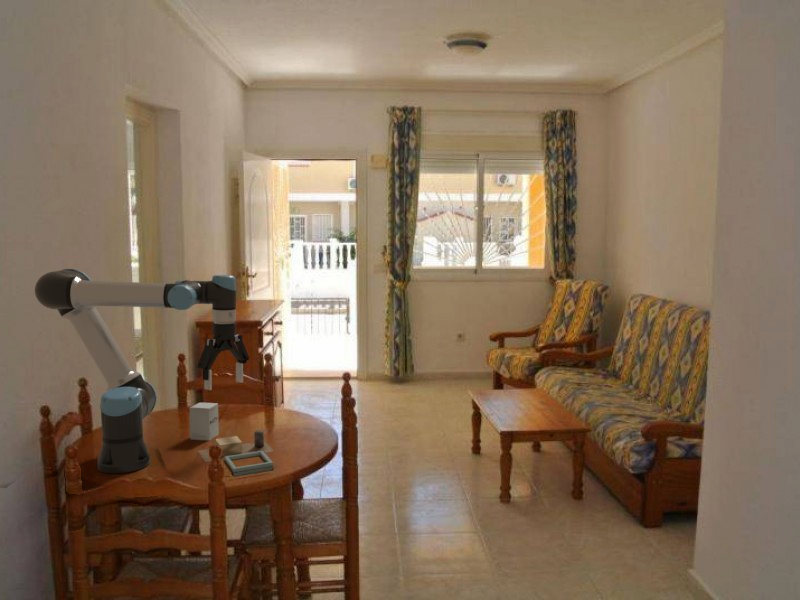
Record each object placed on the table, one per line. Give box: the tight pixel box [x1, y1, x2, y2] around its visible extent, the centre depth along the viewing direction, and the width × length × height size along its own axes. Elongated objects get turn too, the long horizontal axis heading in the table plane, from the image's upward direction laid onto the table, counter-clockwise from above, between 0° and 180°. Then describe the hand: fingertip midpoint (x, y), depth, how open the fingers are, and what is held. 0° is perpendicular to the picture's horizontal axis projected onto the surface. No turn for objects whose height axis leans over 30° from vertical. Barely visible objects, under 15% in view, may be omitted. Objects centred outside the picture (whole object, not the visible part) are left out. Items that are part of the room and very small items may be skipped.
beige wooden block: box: [214, 435, 243, 456], centre depth 216 cm, size 7×7×4 cm
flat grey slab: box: [197, 429, 275, 463], centre depth 216 cm, size 22×12×6 cm, turn 117°
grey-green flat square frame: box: [224, 451, 274, 478], centre depth 205 cm, size 12×12×2 cm
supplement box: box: [189, 402, 220, 441], centre depth 230 cm, size 7×7×13 cm
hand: (224, 385), depth 221 cm, fingers open, 13 cm apart
